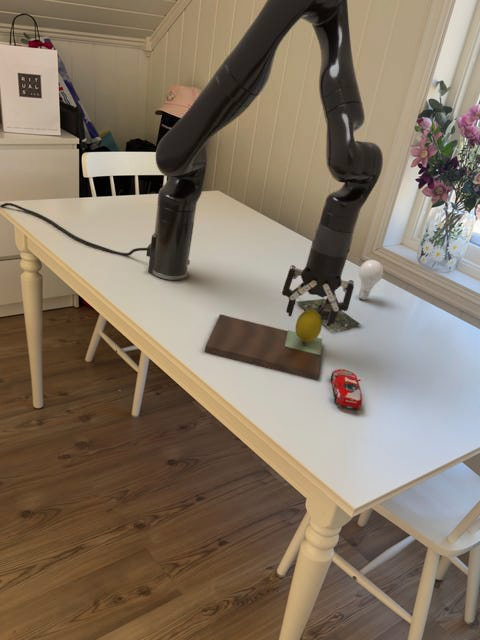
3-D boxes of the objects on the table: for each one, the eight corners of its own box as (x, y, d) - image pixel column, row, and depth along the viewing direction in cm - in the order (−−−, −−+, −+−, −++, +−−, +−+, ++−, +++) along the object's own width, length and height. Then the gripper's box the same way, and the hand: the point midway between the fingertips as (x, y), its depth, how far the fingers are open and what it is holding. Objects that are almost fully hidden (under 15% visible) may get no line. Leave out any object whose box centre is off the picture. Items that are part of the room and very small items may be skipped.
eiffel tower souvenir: (361, 327, 149) (379, 277, 142) (332, 332, 144) (348, 280, 136) (323, 300, 158) (338, 251, 151) (294, 303, 153) (307, 253, 145)
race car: (328, 375, 127) (333, 359, 125) (353, 380, 127) (359, 363, 125) (333, 410, 116) (339, 393, 114) (360, 415, 117) (366, 398, 114)
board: (204, 352, 125) (205, 345, 124) (218, 319, 138) (220, 313, 137) (316, 380, 124) (318, 373, 123) (320, 345, 137) (322, 338, 136)
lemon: (315, 350, 131) (324, 318, 126) (290, 344, 131) (299, 311, 127) (317, 339, 135) (326, 307, 131) (293, 333, 136) (302, 301, 131)
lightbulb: (376, 299, 166) (389, 261, 159) (370, 306, 161) (383, 267, 154) (354, 291, 167) (366, 253, 161) (348, 298, 162) (360, 260, 156)
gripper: (364, 250, 123) (341, 320, 133) (297, 233, 124) (279, 304, 133) (364, 263, 117) (340, 335, 127) (294, 244, 118) (275, 318, 127)
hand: (309, 319), depth 130 cm, fingers open, 8 cm apart
